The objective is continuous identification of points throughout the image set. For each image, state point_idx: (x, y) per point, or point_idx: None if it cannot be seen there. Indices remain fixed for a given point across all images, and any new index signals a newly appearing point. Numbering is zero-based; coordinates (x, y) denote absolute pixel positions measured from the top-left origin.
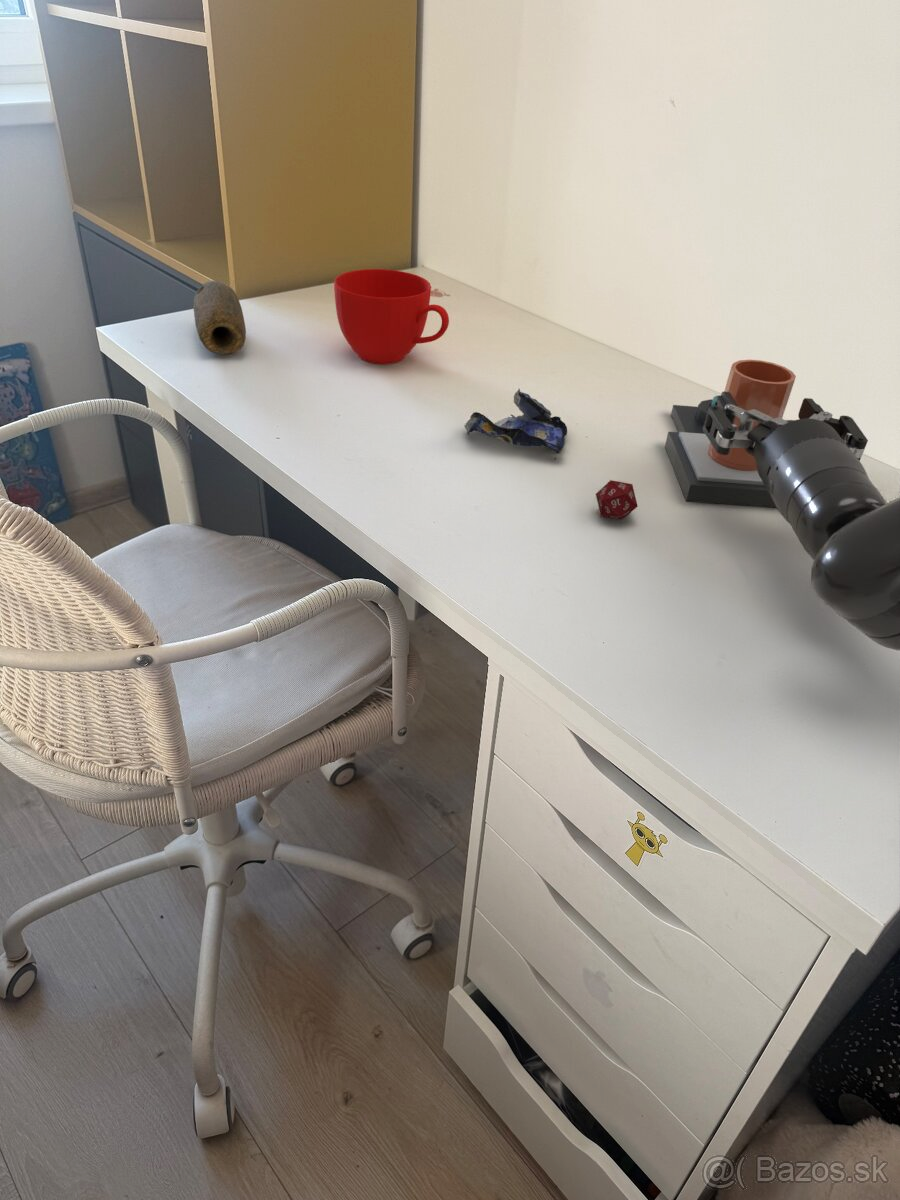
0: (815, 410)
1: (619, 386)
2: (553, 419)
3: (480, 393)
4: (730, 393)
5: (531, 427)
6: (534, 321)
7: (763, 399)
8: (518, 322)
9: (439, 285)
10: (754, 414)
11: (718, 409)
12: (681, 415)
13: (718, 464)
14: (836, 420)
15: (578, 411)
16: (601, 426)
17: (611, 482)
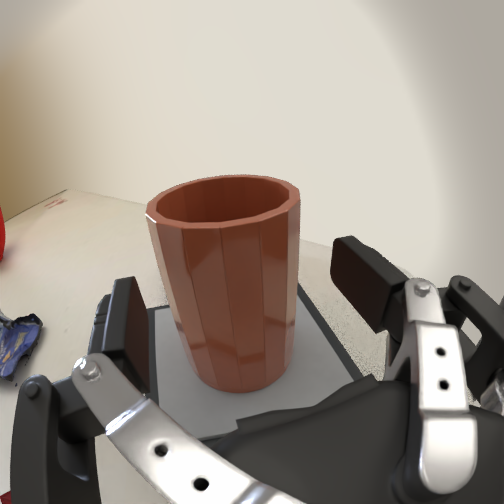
0: (387, 280)
1: (135, 240)
2: (31, 316)
3: (16, 285)
4: (130, 283)
5: (16, 330)
6: (104, 201)
7: (233, 272)
8: (93, 205)
9: (67, 196)
10: (141, 467)
11: (38, 404)
12: None
13: (205, 386)
14: (441, 295)
15: (78, 287)
16: (89, 306)
17: (2, 500)
